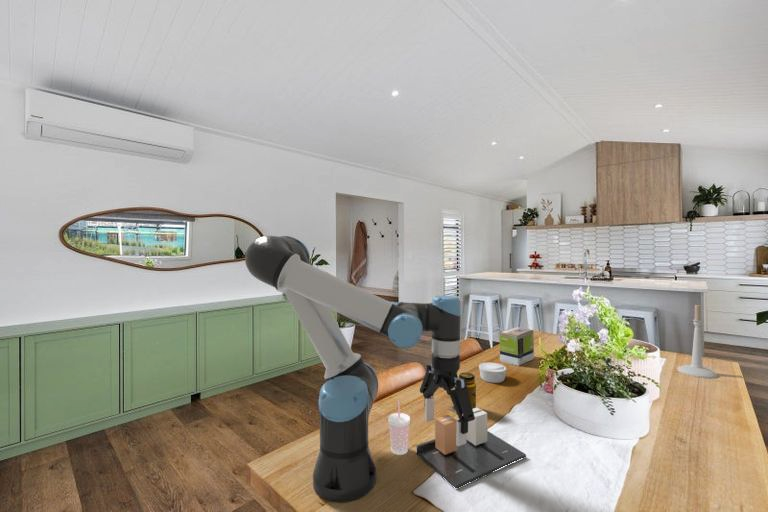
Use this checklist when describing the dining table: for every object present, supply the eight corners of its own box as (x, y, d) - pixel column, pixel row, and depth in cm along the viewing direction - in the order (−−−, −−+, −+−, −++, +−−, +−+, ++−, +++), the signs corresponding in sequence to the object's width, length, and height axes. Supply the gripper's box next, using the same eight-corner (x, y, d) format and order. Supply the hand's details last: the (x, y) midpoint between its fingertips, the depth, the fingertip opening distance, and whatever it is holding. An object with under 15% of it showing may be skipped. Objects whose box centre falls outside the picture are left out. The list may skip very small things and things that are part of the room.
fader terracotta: (444, 454, 92) (444, 424, 92) (435, 447, 96) (435, 418, 96) (457, 449, 94) (457, 420, 94) (447, 442, 98) (447, 414, 98)
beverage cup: (392, 442, 101) (392, 394, 101) (413, 446, 99) (412, 397, 99) (385, 453, 96) (384, 403, 95) (406, 458, 93) (406, 406, 93)
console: (455, 489, 81) (455, 479, 81) (416, 454, 95) (416, 445, 95) (525, 458, 93) (525, 449, 93) (481, 430, 107) (481, 422, 107)
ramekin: (503, 386, 140) (503, 373, 140) (475, 380, 146) (475, 368, 146) (509, 377, 150) (509, 365, 150) (483, 372, 156) (483, 360, 156)
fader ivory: (475, 445, 96) (475, 416, 96) (465, 438, 100) (465, 410, 100) (487, 441, 99) (487, 412, 98) (477, 434, 102) (477, 407, 102)
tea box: (515, 354, 180) (515, 326, 180) (534, 359, 172) (534, 329, 172) (499, 361, 170) (499, 330, 170) (518, 366, 163) (518, 334, 162)
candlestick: (724, 379, 145) (725, 307, 144) (686, 376, 149) (687, 305, 148) (706, 369, 157) (707, 302, 156) (671, 366, 161) (673, 301, 160)
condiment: (481, 410, 120) (481, 375, 120) (463, 417, 115) (463, 381, 115) (465, 402, 126) (465, 369, 126) (448, 408, 122) (448, 374, 121)
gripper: (490, 365, 85) (488, 451, 86) (429, 340, 107) (428, 409, 108) (467, 370, 82) (465, 460, 82) (408, 343, 103) (407, 415, 104)
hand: (444, 431), depth 95 cm, fingers open, 13 cm apart
